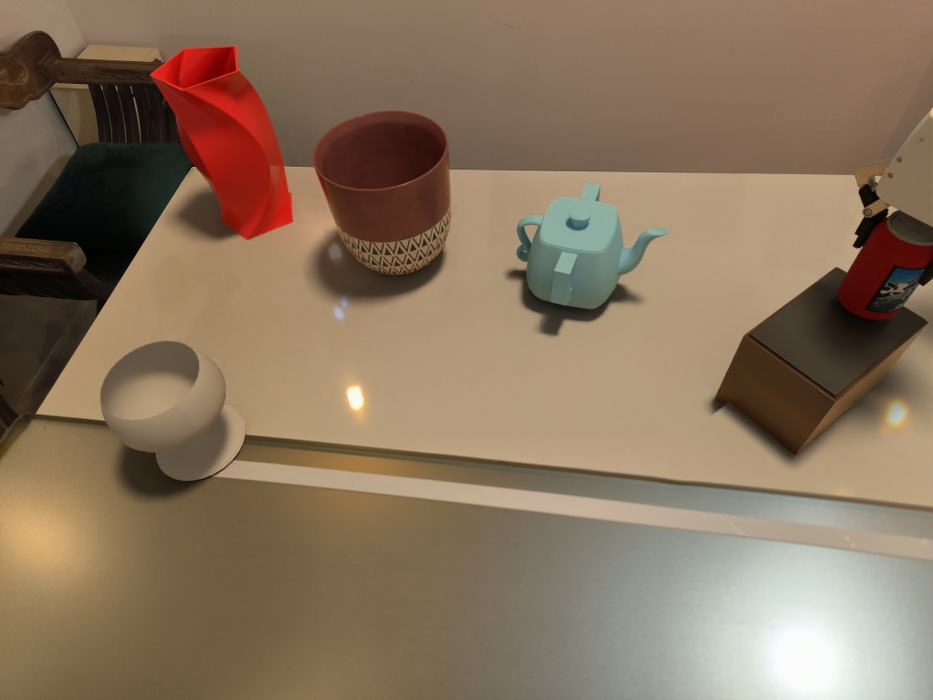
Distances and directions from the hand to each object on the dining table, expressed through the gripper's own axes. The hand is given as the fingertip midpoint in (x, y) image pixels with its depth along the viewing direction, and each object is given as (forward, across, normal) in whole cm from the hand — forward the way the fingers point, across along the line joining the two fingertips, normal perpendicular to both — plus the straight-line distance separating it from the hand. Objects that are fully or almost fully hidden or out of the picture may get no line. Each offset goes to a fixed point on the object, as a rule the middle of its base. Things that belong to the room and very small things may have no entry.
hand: (894, 259), depth 67 cm
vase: (+22, +84, +47) cm, 99 cm away
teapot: (+22, +33, +13) cm, 42 cm away
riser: (+22, 0, +5) cm, 22 cm away
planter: (+22, +57, +32) cm, 69 cm away
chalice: (+22, +44, +73) cm, 88 cm away
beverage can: (+7, 0, 0) cm, 7 cm away
